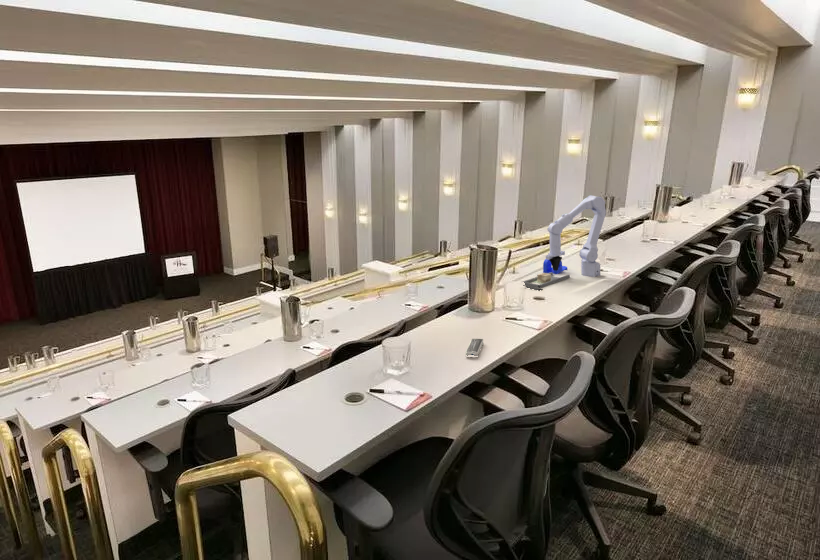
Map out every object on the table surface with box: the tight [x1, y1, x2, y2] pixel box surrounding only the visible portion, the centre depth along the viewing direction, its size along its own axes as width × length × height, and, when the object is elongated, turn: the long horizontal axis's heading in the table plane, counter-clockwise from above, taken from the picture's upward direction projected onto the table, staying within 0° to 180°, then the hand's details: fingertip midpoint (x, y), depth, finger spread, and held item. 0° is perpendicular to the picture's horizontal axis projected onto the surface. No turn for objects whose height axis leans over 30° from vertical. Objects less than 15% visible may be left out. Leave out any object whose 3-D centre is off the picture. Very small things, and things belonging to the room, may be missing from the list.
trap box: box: [522, 272, 571, 292], centre depth 279 cm, size 12×27×3 cm, turn 130°
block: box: [536, 272, 552, 284], centre depth 278 cm, size 5×5×4 cm
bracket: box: [542, 258, 568, 275], centre depth 301 cm, size 18×8×9 cm, turn 142°
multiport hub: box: [465, 338, 484, 357], centre depth 196 cm, size 4×14×2 cm, turn 164°
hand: (555, 270), depth 283 cm, fingers closed
